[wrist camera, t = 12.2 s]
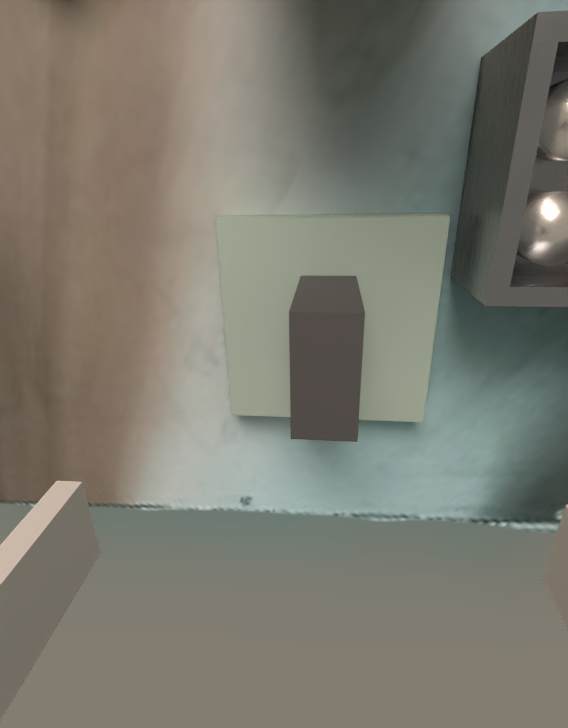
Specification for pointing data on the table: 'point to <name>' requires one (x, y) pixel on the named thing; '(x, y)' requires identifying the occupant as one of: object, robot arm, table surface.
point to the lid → (331, 316)
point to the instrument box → (518, 172)
